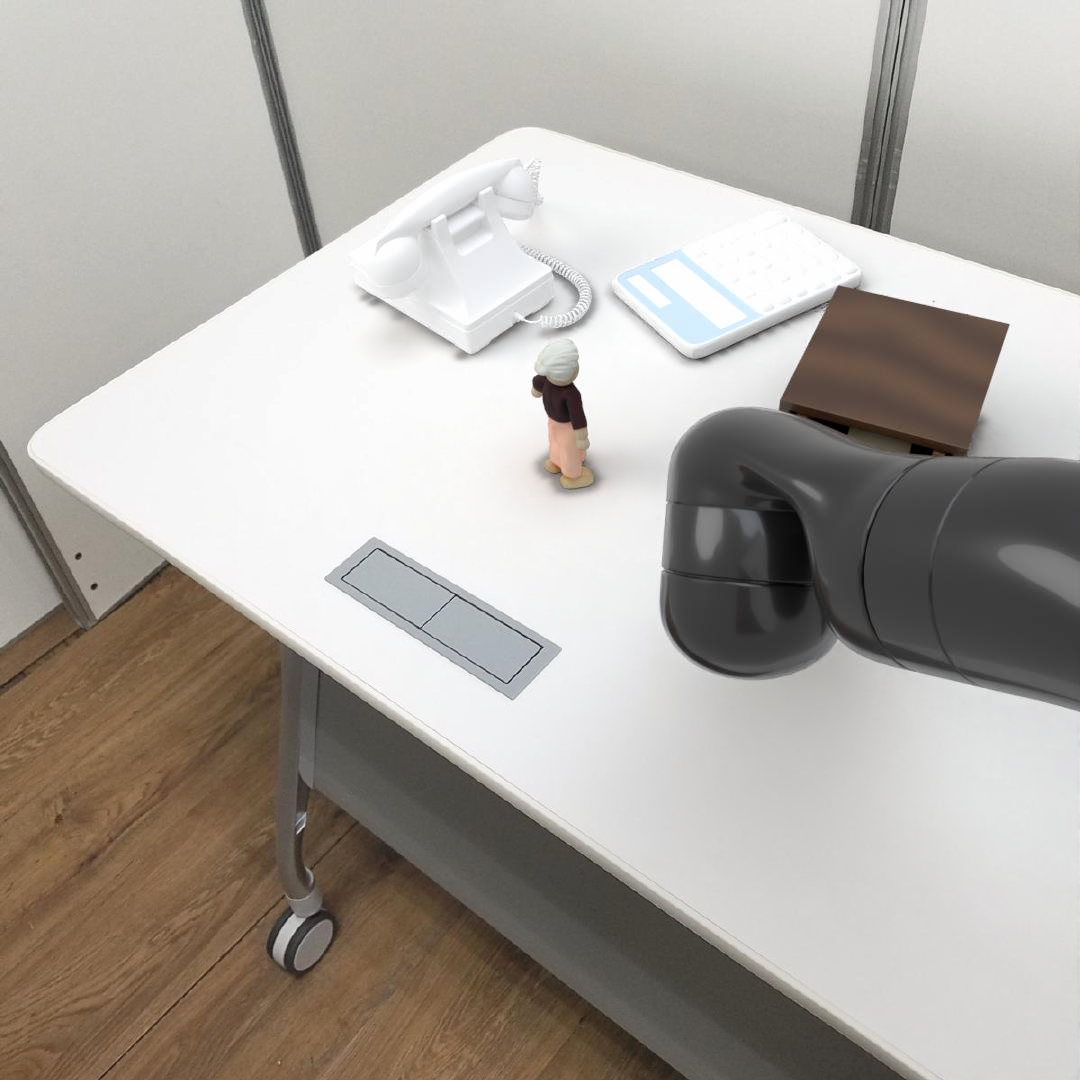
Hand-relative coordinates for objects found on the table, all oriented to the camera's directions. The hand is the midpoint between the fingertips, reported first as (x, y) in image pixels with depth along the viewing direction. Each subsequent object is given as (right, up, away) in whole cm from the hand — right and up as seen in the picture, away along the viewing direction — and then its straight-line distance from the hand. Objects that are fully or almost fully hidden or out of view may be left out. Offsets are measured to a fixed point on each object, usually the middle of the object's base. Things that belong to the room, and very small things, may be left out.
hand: (834, 527), depth 75 cm
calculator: (-2, +23, +28) cm, 36 cm away
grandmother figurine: (-18, +5, +14) cm, 23 cm away
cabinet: (+7, +6, +13) cm, 15 cm away
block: (+5, +3, +8) cm, 10 cm away
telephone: (-25, +23, +30) cm, 46 cm away
